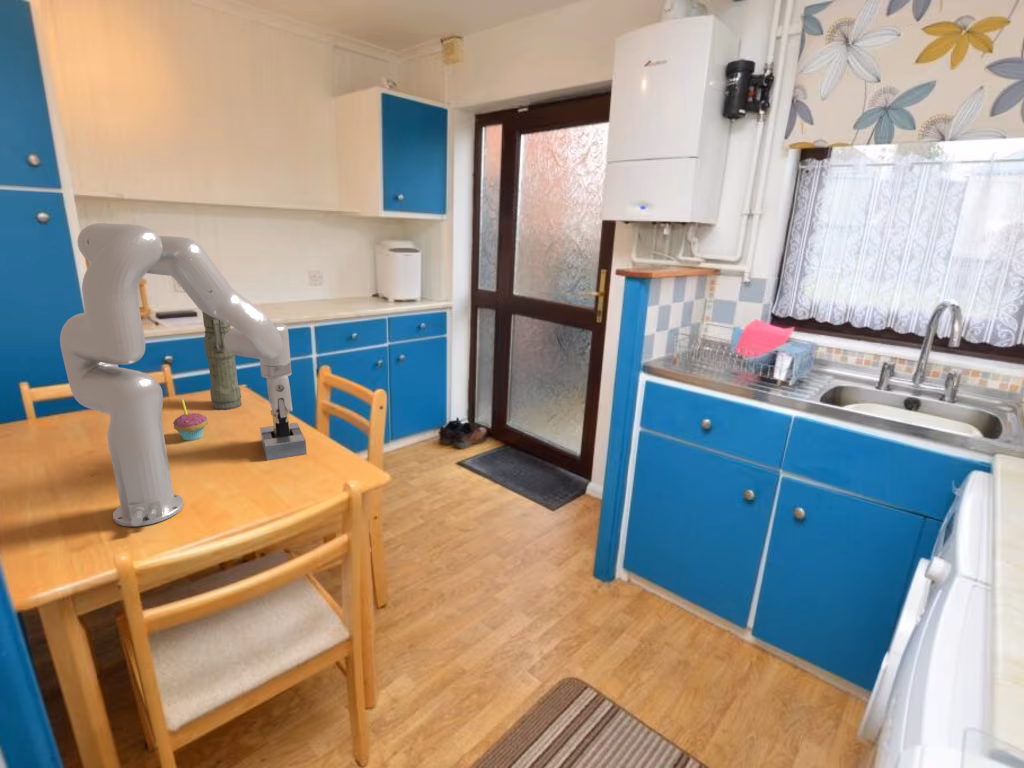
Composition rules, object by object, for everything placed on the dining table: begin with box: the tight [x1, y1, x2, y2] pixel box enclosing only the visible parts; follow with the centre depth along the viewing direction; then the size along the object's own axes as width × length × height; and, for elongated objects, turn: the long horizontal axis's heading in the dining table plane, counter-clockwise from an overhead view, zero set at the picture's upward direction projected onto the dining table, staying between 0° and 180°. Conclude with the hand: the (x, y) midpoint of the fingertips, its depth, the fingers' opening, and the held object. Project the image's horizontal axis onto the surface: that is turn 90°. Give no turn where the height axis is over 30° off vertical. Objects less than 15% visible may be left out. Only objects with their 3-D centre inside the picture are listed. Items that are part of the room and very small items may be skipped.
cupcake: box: [172, 396, 209, 442], centre depth 152 cm, size 9×8×12 cm
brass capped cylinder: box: [270, 408, 290, 438], centre depth 148 cm, size 5×5×9 cm
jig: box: [259, 422, 308, 461], centre depth 149 cm, size 14×10×4 cm
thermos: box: [201, 311, 243, 411], centre depth 175 cm, size 9×12×35 cm
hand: (281, 432), depth 148 cm, fingers closed on brass capped cylinder, 4 cm apart
